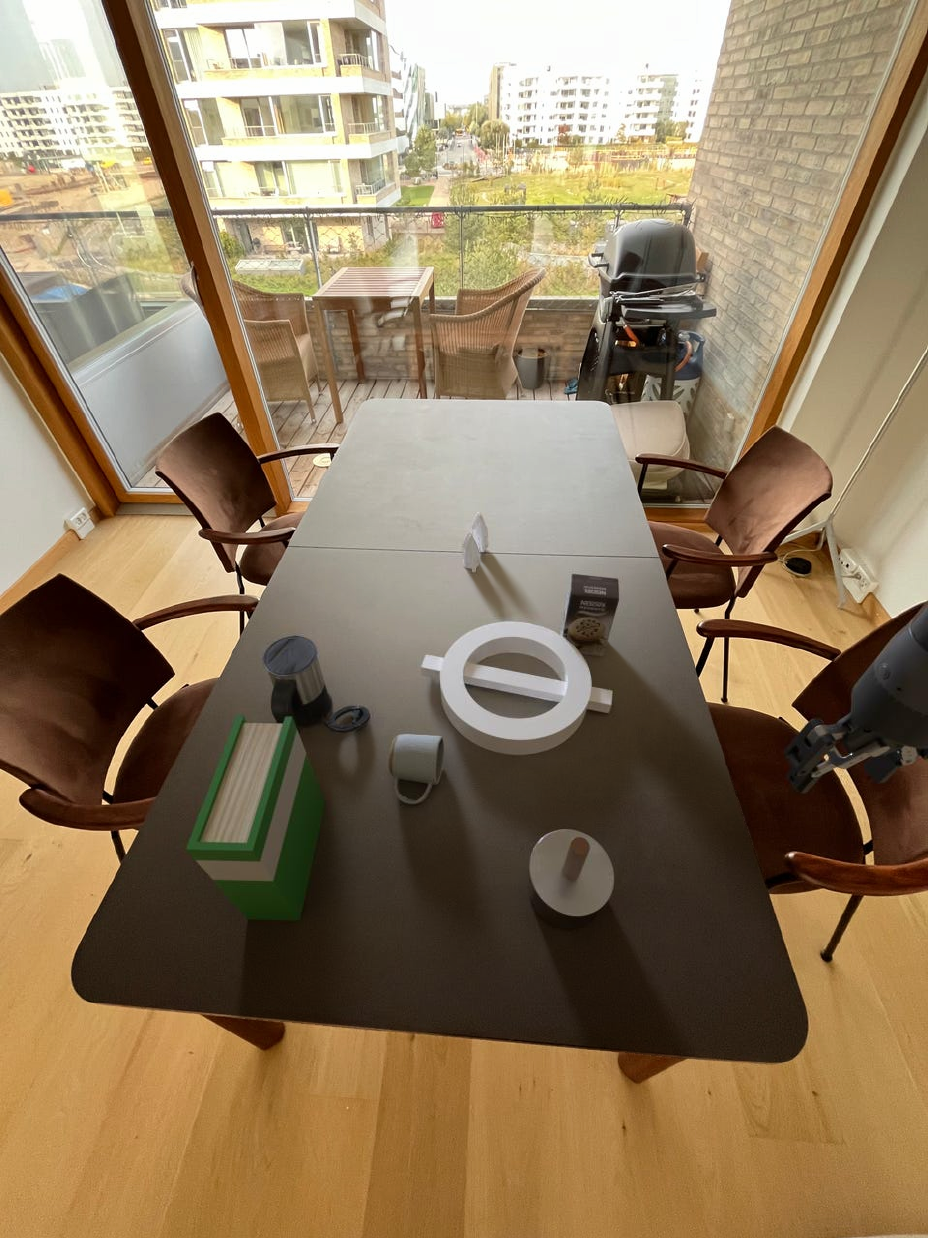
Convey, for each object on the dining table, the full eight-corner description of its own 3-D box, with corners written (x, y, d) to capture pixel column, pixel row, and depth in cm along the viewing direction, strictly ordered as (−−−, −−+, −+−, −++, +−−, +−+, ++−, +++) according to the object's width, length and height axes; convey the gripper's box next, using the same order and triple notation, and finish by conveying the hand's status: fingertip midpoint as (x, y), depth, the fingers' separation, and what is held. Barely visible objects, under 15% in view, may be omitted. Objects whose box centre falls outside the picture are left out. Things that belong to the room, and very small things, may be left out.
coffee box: (558, 652, 113) (569, 594, 101) (560, 630, 117) (570, 572, 106) (604, 658, 111) (619, 599, 100) (603, 635, 116) (618, 577, 105)
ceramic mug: (399, 747, 97) (394, 723, 91) (445, 752, 96) (443, 728, 91) (385, 804, 90) (380, 781, 84) (435, 810, 89) (433, 787, 83)
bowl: (615, 905, 79) (625, 887, 74) (556, 946, 75) (563, 930, 70) (570, 842, 85) (576, 822, 80) (514, 877, 81) (517, 858, 76)
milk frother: (281, 692, 105) (261, 640, 95) (364, 676, 108) (353, 623, 98) (283, 756, 96) (261, 705, 85) (374, 736, 98) (363, 685, 88)
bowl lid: (630, 889, 74) (646, 862, 68) (562, 937, 70) (572, 913, 63) (577, 818, 81) (586, 788, 74) (512, 858, 77) (516, 829, 70)
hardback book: (280, 801, 90) (236, 715, 73) (325, 802, 90) (292, 716, 73) (247, 919, 77) (185, 849, 60) (299, 920, 77) (252, 851, 60)
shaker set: (475, 540, 139) (476, 502, 131) (491, 543, 138) (492, 506, 130) (459, 569, 131) (458, 531, 124) (475, 572, 130) (476, 534, 123)
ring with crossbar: (618, 711, 102) (623, 696, 99) (491, 782, 92) (492, 767, 89) (530, 619, 119) (532, 603, 116) (415, 670, 109) (413, 655, 106)
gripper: (878, 728, 42) (789, 824, 53) (1045, 707, 43) (924, 805, 55) (820, 655, 47) (750, 756, 58) (970, 638, 48) (874, 740, 60)
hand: (834, 780), depth 56 cm, fingers open, 8 cm apart
